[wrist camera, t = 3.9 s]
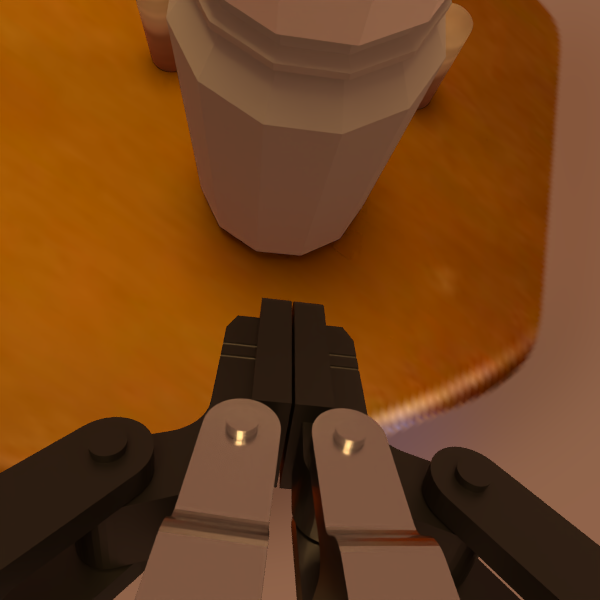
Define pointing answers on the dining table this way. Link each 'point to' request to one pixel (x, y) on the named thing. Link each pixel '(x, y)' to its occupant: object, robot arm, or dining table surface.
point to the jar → (299, 106)
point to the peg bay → (156, 30)
